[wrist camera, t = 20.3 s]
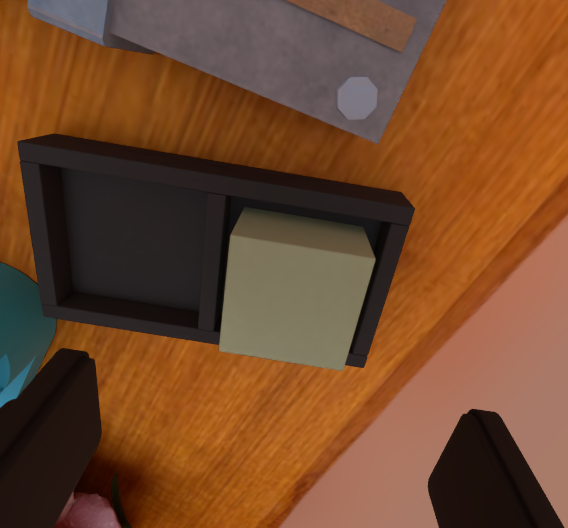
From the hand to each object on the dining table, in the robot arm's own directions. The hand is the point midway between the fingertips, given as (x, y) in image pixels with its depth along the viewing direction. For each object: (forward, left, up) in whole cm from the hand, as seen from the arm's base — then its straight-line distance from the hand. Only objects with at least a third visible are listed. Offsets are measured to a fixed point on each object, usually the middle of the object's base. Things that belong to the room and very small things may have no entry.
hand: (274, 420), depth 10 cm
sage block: (+1, 0, -10) cm, 10 cm away
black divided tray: (0, -4, -11) cm, 11 cm away
